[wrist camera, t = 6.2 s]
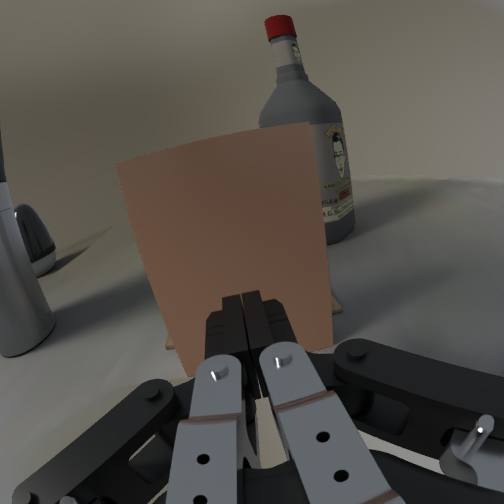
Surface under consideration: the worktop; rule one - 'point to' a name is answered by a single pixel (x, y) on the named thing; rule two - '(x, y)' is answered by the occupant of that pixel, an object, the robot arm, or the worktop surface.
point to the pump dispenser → (36, 239)
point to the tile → (232, 231)
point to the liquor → (311, 126)
